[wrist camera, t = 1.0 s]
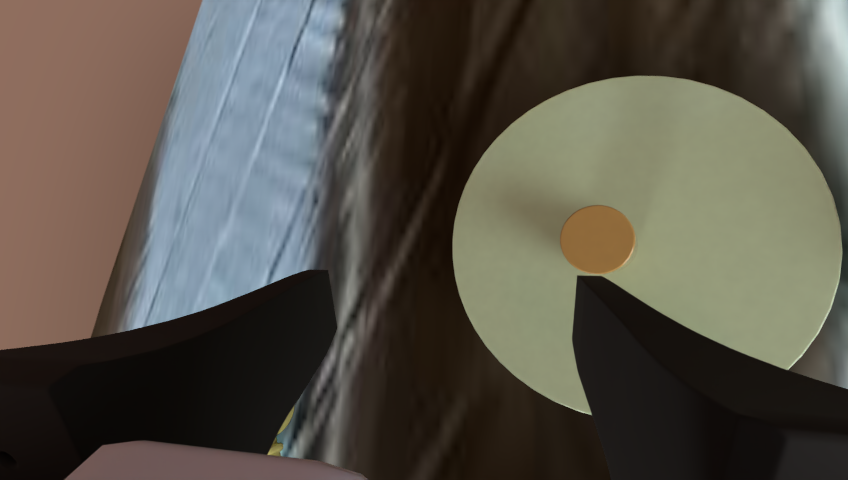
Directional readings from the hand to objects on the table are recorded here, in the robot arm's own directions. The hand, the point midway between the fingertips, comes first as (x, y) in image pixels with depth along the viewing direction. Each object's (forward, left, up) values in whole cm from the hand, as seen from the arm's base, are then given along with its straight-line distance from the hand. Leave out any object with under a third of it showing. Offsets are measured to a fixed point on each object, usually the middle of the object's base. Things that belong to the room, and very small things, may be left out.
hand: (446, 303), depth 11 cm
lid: (-2, -4, -9) cm, 9 cm away
